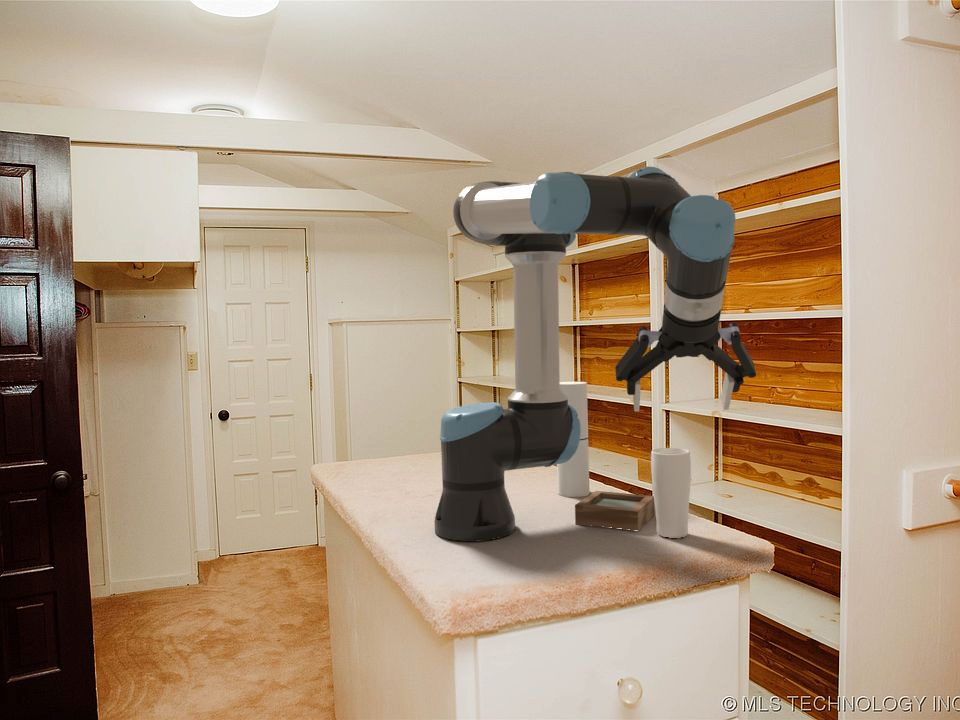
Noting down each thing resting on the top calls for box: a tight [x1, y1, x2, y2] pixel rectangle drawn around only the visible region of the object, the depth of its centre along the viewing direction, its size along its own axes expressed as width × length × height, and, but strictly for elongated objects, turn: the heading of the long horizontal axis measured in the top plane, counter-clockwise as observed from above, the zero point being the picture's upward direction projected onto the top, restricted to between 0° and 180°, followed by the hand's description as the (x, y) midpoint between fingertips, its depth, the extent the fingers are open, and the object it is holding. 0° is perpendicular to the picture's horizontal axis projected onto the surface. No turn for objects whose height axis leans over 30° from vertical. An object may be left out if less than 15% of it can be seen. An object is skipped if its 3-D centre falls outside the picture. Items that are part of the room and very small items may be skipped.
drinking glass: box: [650, 447, 692, 539], centre depth 117 cm, size 7×7×15 cm
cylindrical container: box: [556, 381, 591, 498], centre depth 149 cm, size 7×7×25 cm
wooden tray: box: [574, 490, 656, 531], centre depth 128 cm, size 12×12×4 cm
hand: (679, 404), depth 105 cm, fingers open, 13 cm apart
